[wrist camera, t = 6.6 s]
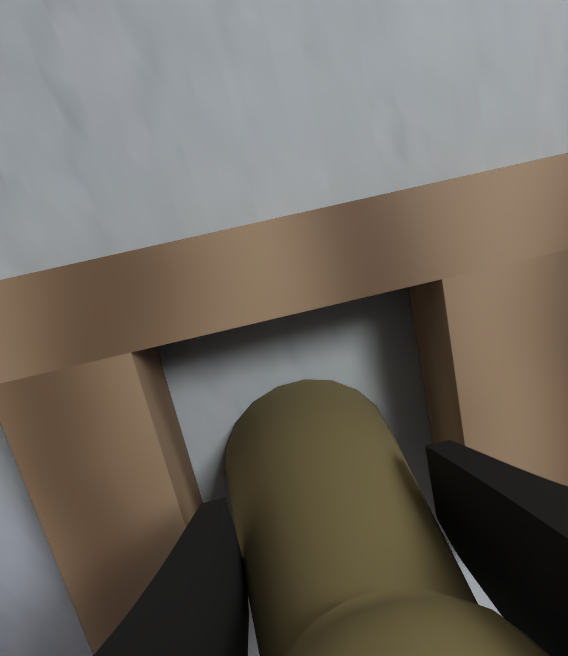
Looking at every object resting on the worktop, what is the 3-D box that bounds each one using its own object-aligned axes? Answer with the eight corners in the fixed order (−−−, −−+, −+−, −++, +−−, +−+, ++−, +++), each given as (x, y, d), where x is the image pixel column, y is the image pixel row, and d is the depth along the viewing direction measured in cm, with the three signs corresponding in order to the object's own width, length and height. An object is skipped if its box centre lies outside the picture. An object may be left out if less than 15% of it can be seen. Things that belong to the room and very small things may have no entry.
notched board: (679, 131, 13) (775, 106, 11) (683, 456, 16) (762, 493, 14) (5, 282, 12) (-52, 292, 10) (124, 604, 15) (101, 674, 13)
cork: (359, 350, 14) (765, 696, 3) (415, 495, 15) (833, 1080, 5) (195, 422, 14) (44, 1037, 3) (265, 562, 15) (333, 1333, 4)
